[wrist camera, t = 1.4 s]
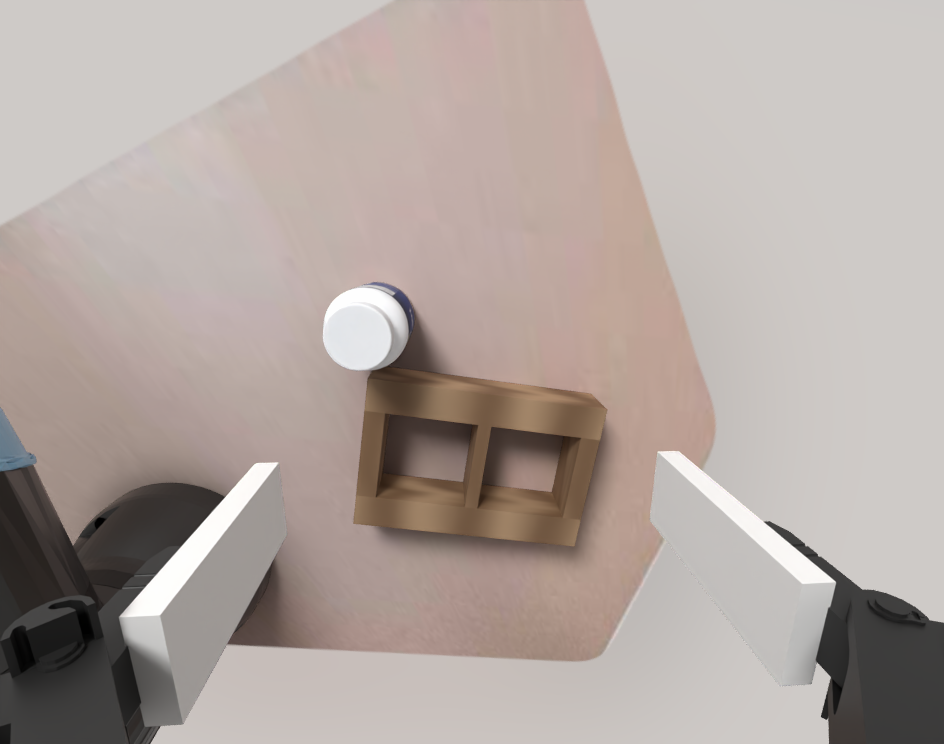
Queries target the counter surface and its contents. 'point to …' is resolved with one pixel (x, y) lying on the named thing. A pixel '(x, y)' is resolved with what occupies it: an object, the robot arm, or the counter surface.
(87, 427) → the counter surface
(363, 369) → the pill bottle
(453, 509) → the socket board
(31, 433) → the counter surface
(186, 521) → the robot arm
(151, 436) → the counter surface
